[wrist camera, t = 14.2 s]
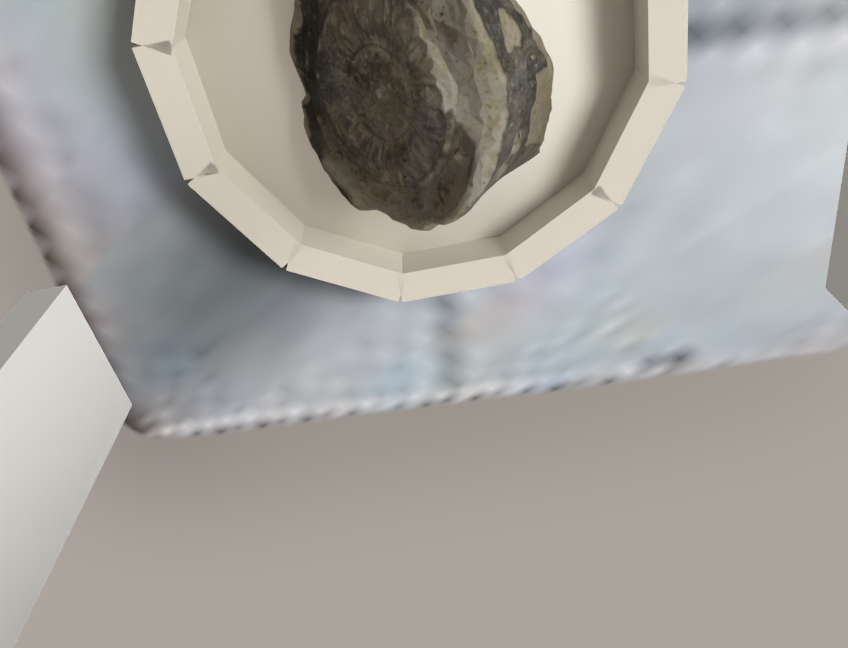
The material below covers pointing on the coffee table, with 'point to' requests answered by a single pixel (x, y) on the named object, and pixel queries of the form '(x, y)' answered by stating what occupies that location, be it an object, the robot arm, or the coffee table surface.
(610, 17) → the round tray
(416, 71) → the fossil
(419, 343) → the coffee table surface
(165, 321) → the coffee table surface
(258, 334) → the coffee table surface
